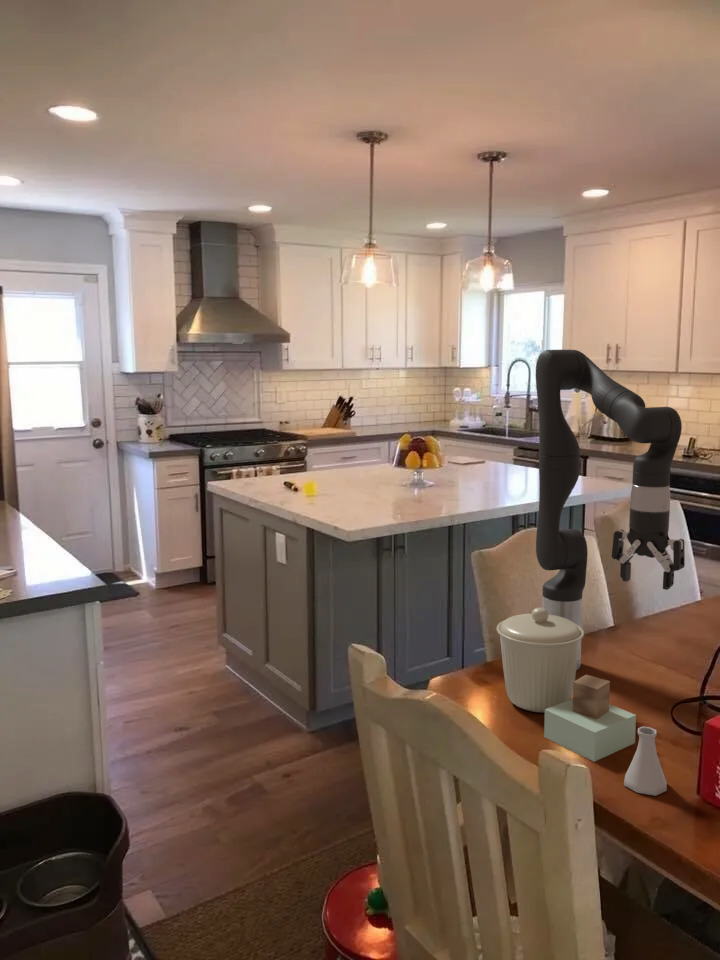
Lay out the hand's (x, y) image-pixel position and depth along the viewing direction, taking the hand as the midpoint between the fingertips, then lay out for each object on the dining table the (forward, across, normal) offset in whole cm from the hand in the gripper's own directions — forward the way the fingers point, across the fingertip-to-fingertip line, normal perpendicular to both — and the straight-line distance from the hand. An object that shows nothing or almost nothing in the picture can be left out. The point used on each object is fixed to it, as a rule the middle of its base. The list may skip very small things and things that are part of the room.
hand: (646, 584), depth 159 cm
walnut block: (+22, +1, +18) cm, 28 cm away
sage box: (+28, +1, +19) cm, 34 cm away
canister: (+28, +18, +11) cm, 35 cm away
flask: (+27, -14, +27) cm, 41 cm away
